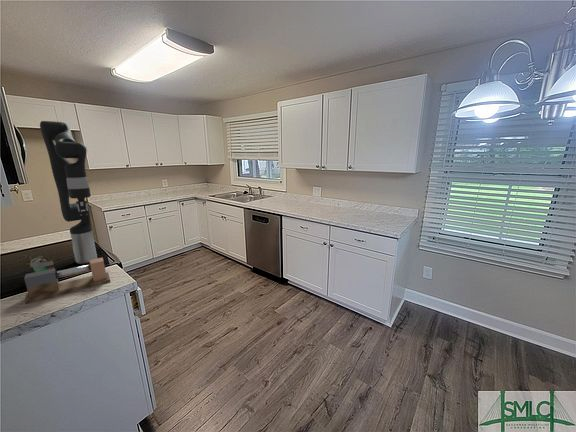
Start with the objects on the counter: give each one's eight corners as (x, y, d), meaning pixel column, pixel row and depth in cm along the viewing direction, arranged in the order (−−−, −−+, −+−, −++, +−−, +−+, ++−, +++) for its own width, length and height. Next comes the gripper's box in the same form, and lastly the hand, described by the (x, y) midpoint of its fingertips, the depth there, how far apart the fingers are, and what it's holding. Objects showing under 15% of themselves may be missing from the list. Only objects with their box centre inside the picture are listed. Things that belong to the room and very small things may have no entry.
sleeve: (26, 287, 99) (24, 278, 98) (28, 283, 103) (25, 274, 102) (56, 280, 105) (54, 271, 104) (57, 276, 109) (55, 268, 108)
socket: (93, 281, 113) (90, 263, 111) (93, 277, 117) (89, 260, 115) (106, 278, 117) (103, 261, 114) (105, 274, 121) (102, 257, 118)
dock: (25, 303, 98) (22, 291, 97) (29, 293, 106) (25, 281, 104) (110, 281, 116) (108, 270, 114) (108, 274, 123) (106, 263, 122)
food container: (29, 279, 118) (24, 259, 115) (46, 273, 123) (41, 255, 121) (40, 285, 112) (35, 265, 110) (57, 279, 118) (53, 260, 115)
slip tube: (48, 281, 104) (46, 274, 103) (49, 278, 106) (47, 272, 105) (98, 269, 115) (97, 263, 114) (97, 267, 117) (96, 261, 116)
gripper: (89, 188, 109) (96, 223, 113) (88, 185, 119) (94, 217, 123) (67, 189, 104) (75, 225, 108) (68, 186, 114) (75, 219, 118)
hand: (85, 221), depth 115 cm, fingers open, 8 cm apart
